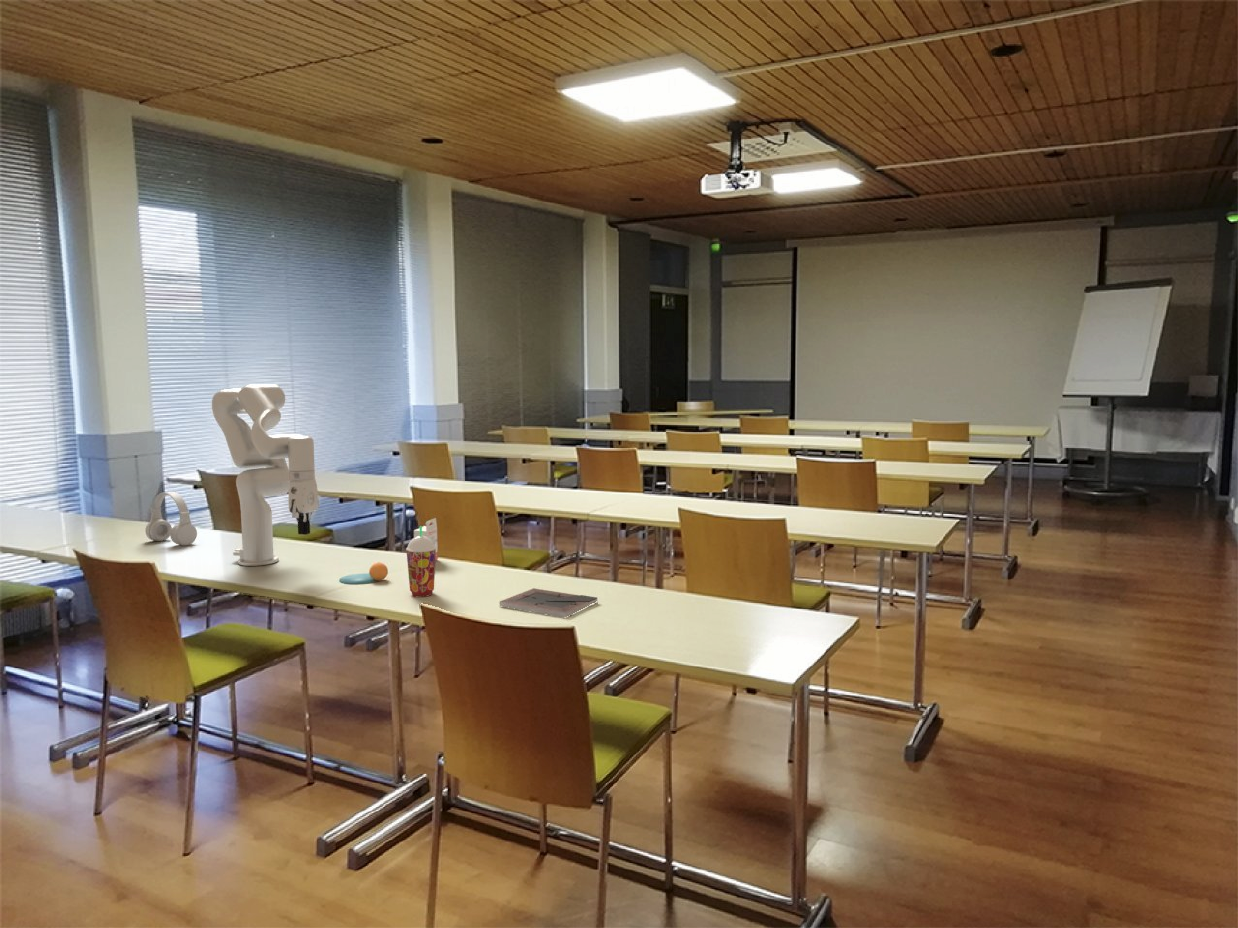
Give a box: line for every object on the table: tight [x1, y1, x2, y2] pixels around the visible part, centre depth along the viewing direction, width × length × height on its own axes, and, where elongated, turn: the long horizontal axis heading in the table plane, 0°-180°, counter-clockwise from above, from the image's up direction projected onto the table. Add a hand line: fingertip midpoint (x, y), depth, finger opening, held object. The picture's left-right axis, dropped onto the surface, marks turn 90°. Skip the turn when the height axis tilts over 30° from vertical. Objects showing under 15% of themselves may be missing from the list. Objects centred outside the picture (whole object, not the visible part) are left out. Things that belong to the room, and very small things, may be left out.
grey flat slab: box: [499, 587, 598, 618], centre depth 234 cm, size 16×2×22 cm
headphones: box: [145, 491, 198, 547], centre depth 315 cm, size 20×8×19 cm, turn 60°
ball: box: [368, 562, 389, 582], centre depth 260 cm, size 6×6×6 cm
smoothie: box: [405, 525, 436, 597], centre depth 244 cm, size 8×8×20 cm
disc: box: [338, 572, 378, 585], centre depth 262 cm, size 13×13×1 cm
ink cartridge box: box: [413, 517, 439, 562], centre depth 285 cm, size 9×5×15 cm, turn 168°
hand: (304, 533), depth 265 cm, fingers closed
